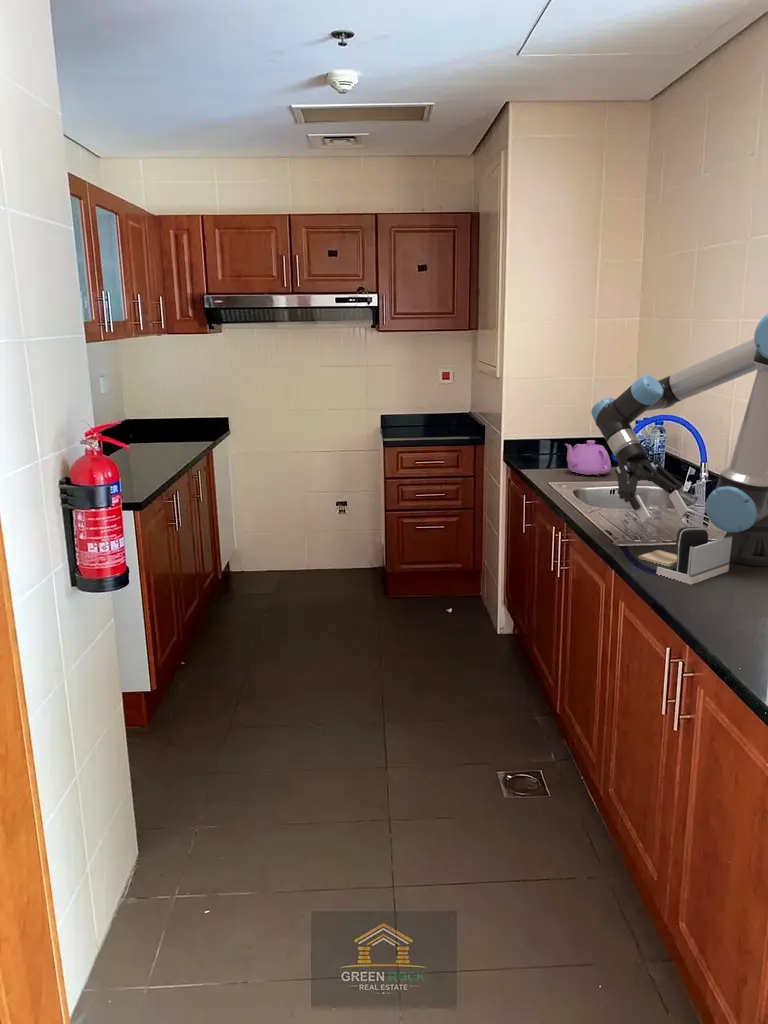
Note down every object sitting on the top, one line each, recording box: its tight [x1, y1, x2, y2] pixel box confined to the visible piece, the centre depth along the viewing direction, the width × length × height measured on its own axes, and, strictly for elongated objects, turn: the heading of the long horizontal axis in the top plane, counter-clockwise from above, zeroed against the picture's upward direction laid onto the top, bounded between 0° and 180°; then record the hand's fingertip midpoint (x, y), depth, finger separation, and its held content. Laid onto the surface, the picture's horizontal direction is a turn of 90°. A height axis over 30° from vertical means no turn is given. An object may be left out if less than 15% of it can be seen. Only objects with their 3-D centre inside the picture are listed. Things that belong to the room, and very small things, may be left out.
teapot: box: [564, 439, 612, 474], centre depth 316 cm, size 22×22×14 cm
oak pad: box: [638, 549, 677, 568], centre depth 203 cm, size 9×9×1 cm
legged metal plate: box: [655, 536, 732, 586], centre depth 191 cm, size 17×9×9 cm, turn 128°
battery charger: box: [674, 526, 709, 574], centre depth 192 cm, size 7×4×11 cm, turn 93°
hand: (666, 516), depth 197 cm, fingers open, 13 cm apart
